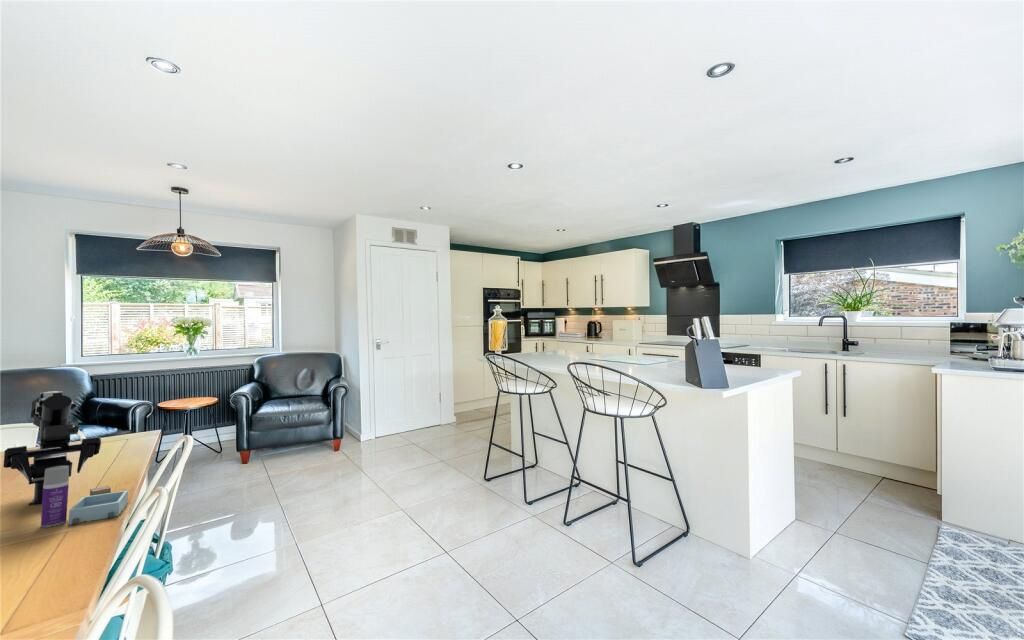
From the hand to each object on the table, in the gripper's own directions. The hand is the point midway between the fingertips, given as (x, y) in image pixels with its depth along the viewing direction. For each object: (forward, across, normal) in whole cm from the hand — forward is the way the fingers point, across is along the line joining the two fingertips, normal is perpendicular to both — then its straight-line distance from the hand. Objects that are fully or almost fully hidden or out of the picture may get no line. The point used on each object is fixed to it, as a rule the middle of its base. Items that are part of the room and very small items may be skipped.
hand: (54, 476), depth 116 cm
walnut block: (+2, +10, +15) cm, 18 cm away
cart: (+11, +9, +5) cm, 15 cm away
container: (+12, 0, +5) cm, 13 cm away
